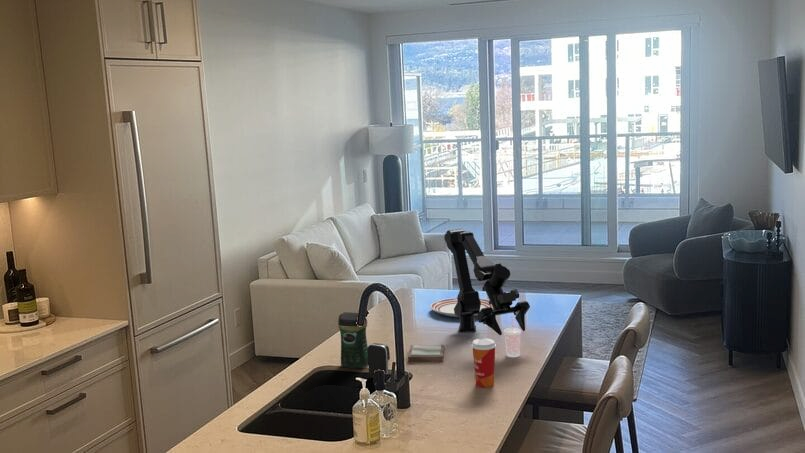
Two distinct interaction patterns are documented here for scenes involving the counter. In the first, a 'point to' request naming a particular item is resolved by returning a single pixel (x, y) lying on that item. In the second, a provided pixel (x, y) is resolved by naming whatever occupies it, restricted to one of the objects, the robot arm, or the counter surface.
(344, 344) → the coffee jar
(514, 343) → the beverage cup
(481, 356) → the paper cup
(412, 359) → the plinth
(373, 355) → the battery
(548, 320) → the counter surface
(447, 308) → the dinner plate
